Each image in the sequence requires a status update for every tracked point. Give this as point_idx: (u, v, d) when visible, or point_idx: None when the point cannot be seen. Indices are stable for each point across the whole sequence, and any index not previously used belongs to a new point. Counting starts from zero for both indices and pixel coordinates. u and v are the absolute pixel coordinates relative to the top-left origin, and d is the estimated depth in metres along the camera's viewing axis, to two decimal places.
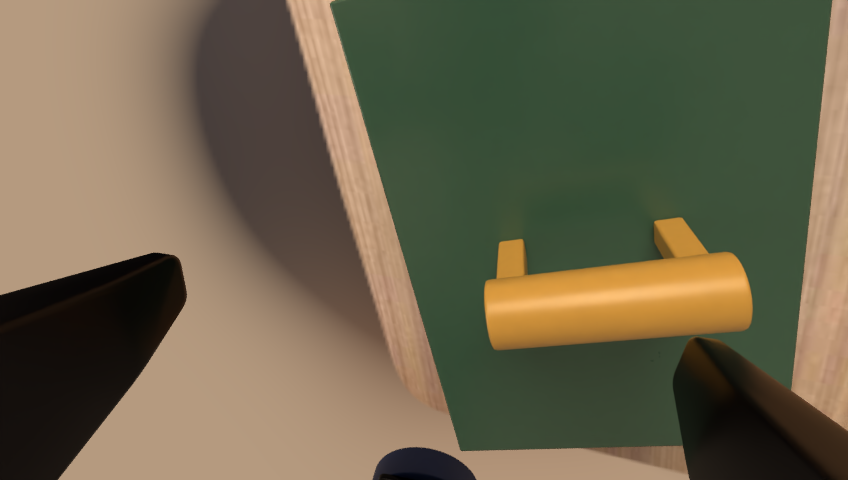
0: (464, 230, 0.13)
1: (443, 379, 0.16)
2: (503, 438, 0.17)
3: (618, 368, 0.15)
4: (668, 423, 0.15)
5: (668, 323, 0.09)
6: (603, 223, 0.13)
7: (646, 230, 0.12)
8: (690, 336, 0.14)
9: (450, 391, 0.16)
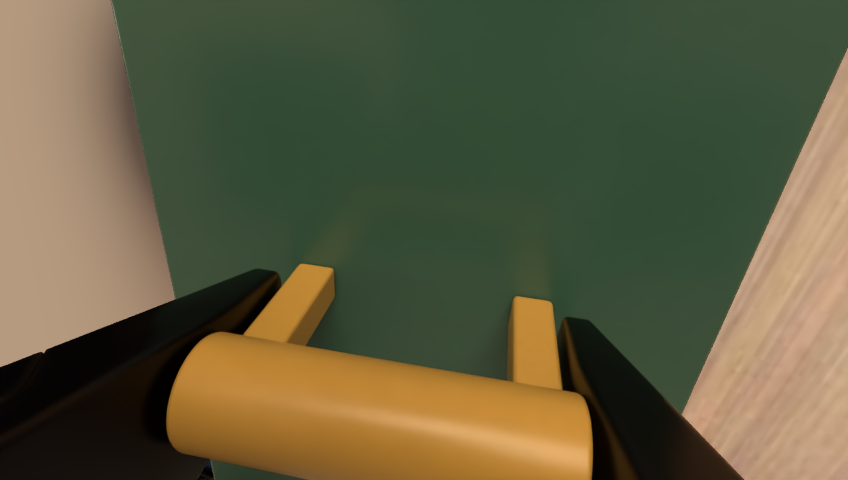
0: (252, 232, 0.09)
1: None
2: None
3: None
4: None
5: None
6: (447, 279, 0.09)
7: (502, 305, 0.09)
8: None
9: None
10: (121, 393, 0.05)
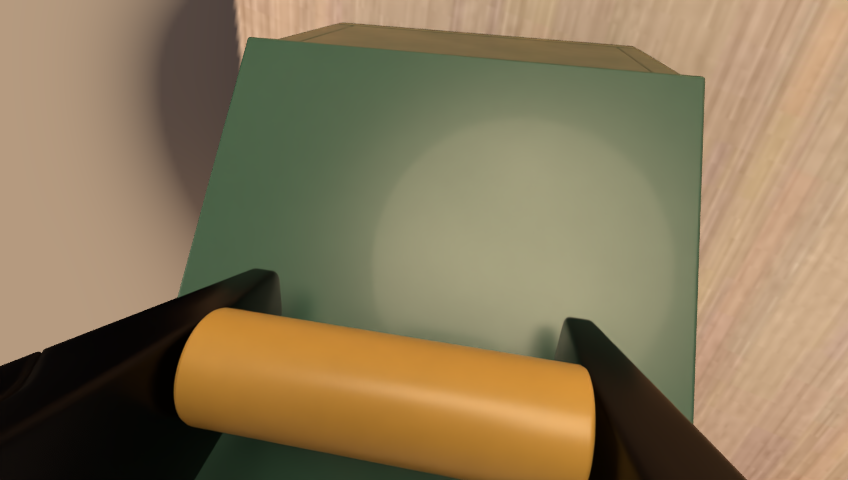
0: None
1: None
2: None
3: None
4: None
5: (462, 424, 0.05)
6: None
7: None
8: None
9: None
10: (119, 392, 0.05)
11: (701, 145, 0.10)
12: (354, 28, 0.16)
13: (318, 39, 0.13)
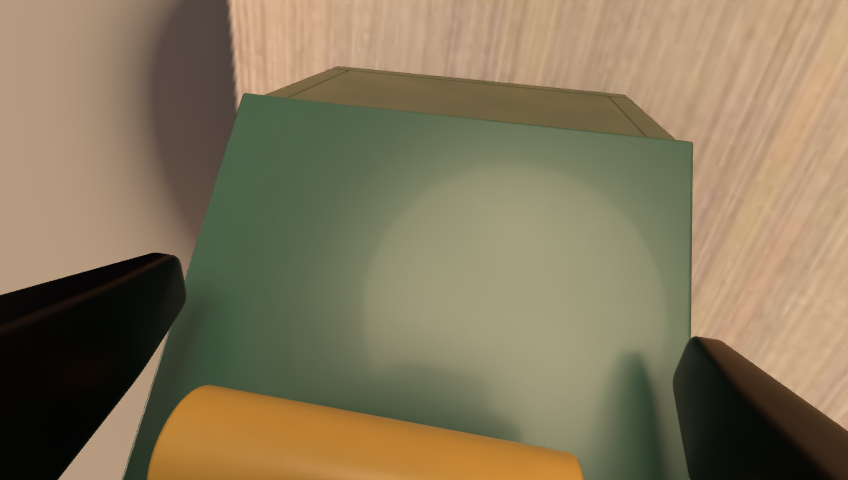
0: (248, 376, 0.09)
1: None
2: None
3: None
4: None
5: None
6: None
7: None
8: None
9: None
10: None
11: (691, 209, 0.10)
12: (349, 74, 0.16)
13: (313, 91, 0.13)
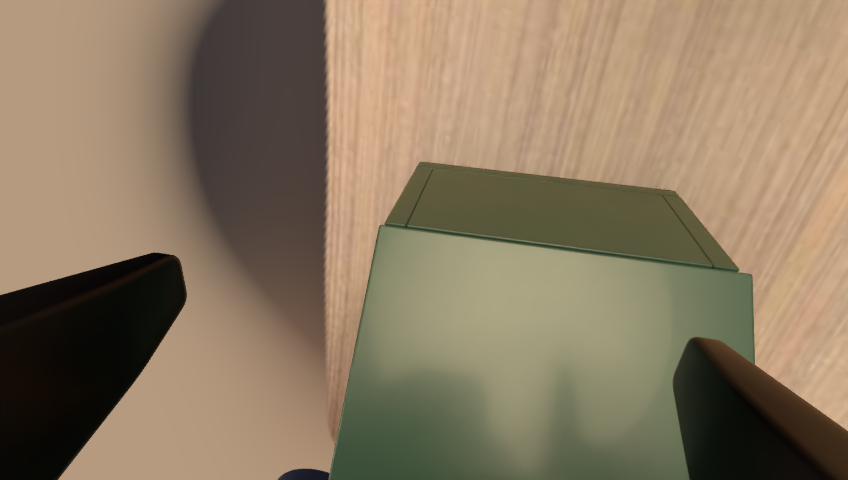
0: (407, 468, 0.12)
1: None
2: None
3: None
4: None
5: None
6: None
7: None
8: None
9: None
10: None
11: (752, 331, 0.12)
12: (437, 175, 0.19)
13: (422, 208, 0.16)
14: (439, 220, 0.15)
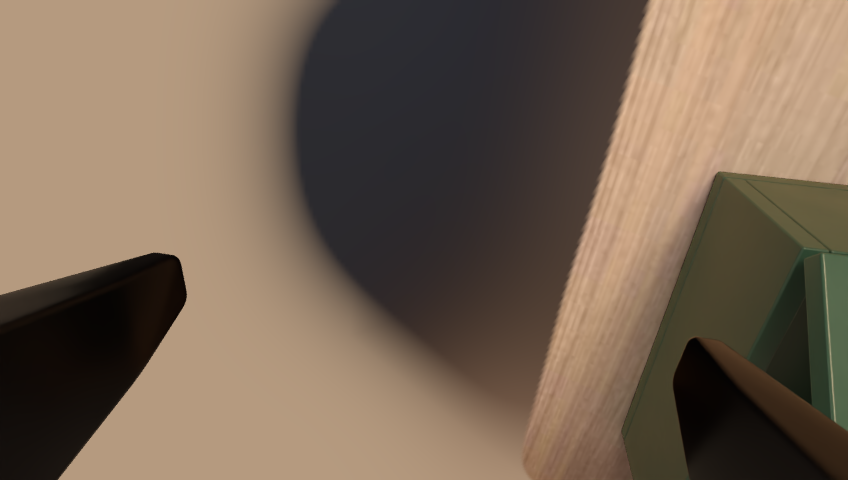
0: None
1: None
2: None
3: None
4: None
5: None
6: None
7: None
8: None
9: None
10: None
11: None
12: (763, 188, 0.17)
13: (814, 229, 0.14)
14: None
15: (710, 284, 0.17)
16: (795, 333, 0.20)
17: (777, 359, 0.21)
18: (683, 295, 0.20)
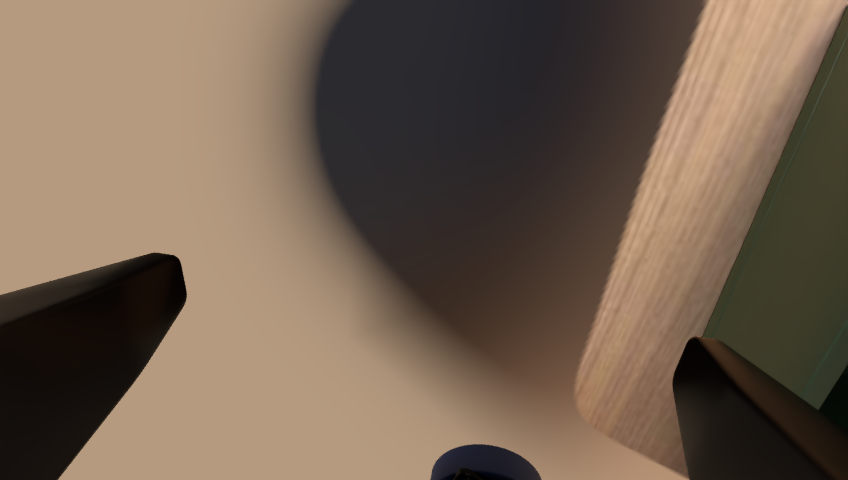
0: None
1: None
2: None
3: None
4: None
5: None
6: None
7: None
8: None
9: None
10: None
11: None
12: None
13: None
14: None
15: (846, 130, 0.14)
16: None
17: None
18: (796, 164, 0.16)
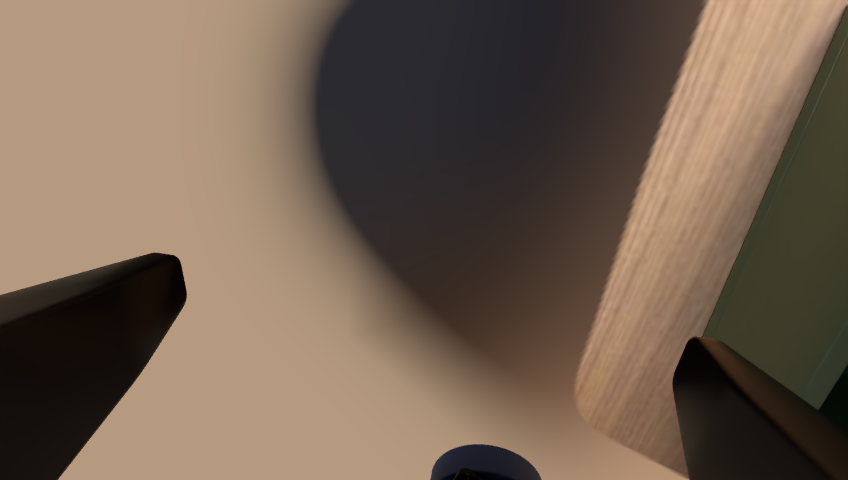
0: None
1: None
2: None
3: None
4: None
5: None
6: None
7: None
8: None
9: None
10: None
11: None
12: None
13: None
14: None
15: (846, 130, 0.14)
16: None
17: None
18: (795, 164, 0.16)
